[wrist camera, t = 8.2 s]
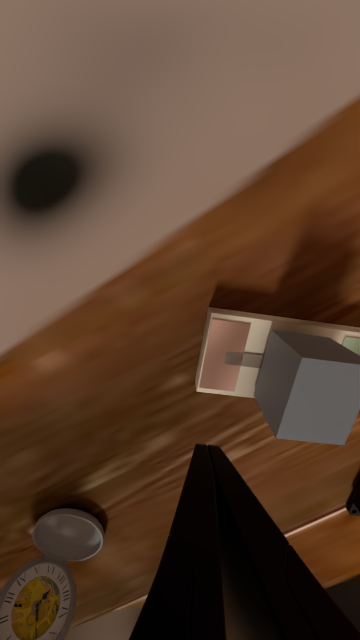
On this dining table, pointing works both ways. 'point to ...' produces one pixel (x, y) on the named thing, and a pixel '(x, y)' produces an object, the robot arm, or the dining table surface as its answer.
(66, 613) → the pocket watch
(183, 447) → the dining table surface
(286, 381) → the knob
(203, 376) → the cream flat rectangular block
